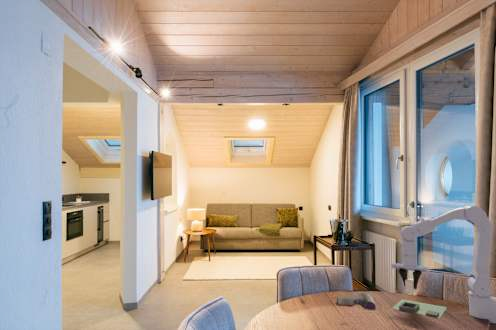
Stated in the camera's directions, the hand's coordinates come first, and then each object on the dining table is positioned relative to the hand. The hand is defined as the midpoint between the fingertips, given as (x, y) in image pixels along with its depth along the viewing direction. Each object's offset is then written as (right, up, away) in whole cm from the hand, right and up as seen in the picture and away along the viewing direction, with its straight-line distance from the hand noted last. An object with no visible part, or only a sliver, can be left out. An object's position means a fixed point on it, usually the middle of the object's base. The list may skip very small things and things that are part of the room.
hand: (410, 287), depth 144 cm
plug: (0, -2, 0) cm, 2 cm away
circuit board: (+4, -10, 0) cm, 10 cm away
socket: (-1, -9, -1) cm, 9 cm away
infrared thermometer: (-21, -11, +6) cm, 24 cm away
